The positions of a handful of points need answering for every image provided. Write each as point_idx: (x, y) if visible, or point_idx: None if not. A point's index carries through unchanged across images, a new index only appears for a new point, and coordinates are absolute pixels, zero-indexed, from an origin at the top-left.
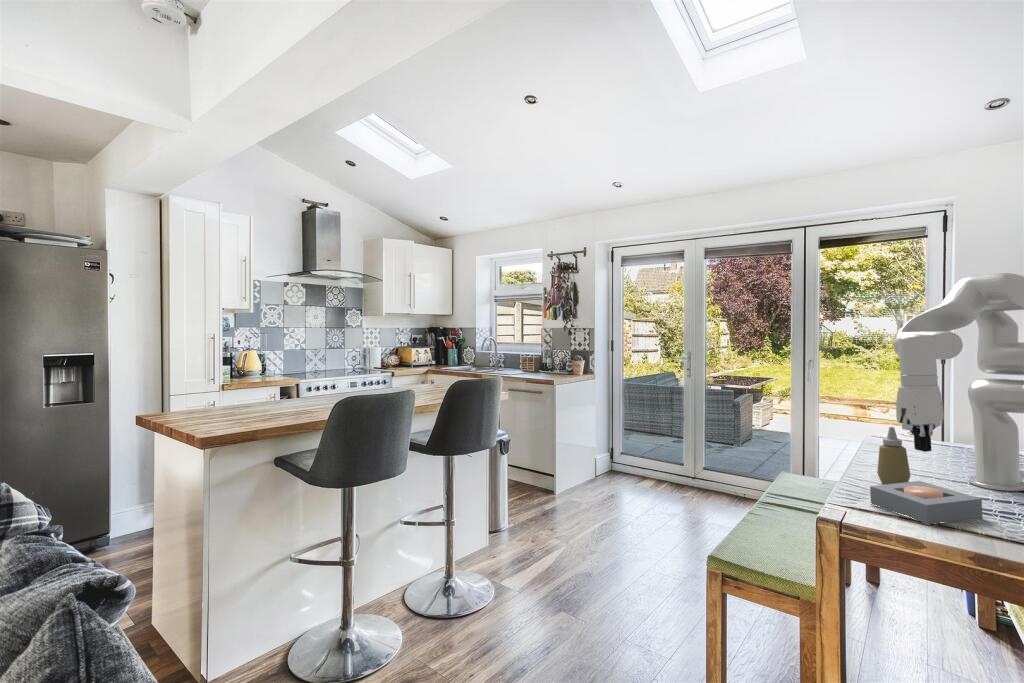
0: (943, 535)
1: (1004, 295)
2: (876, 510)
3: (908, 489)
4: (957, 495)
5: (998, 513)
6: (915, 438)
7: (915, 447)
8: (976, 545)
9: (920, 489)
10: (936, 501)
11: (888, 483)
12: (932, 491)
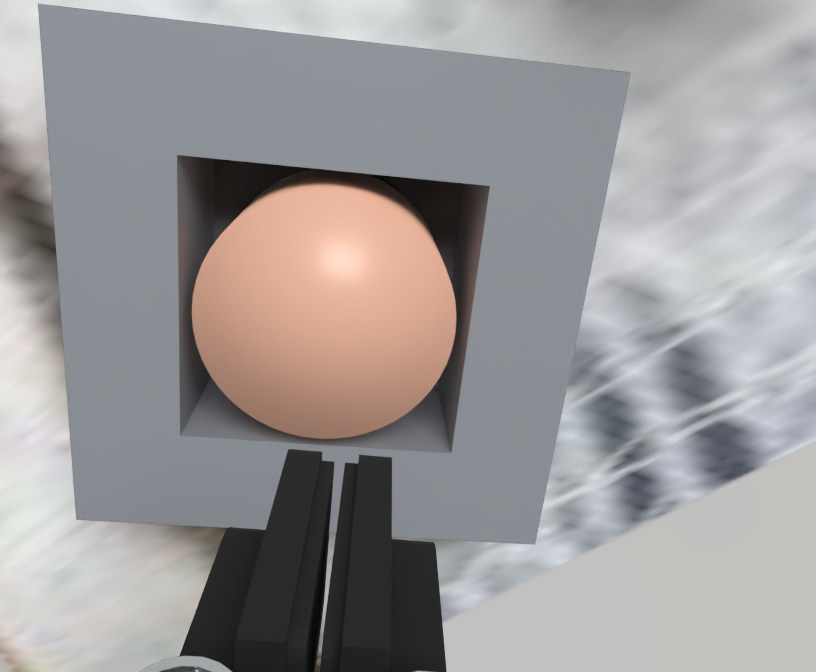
0: (80, 555)
1: None
2: (38, 143)
3: (236, 264)
4: (470, 454)
5: (676, 445)
6: (187, 654)
7: (288, 471)
8: (117, 664)
9: (329, 299)
10: (209, 491)
11: None
12: (362, 369)
